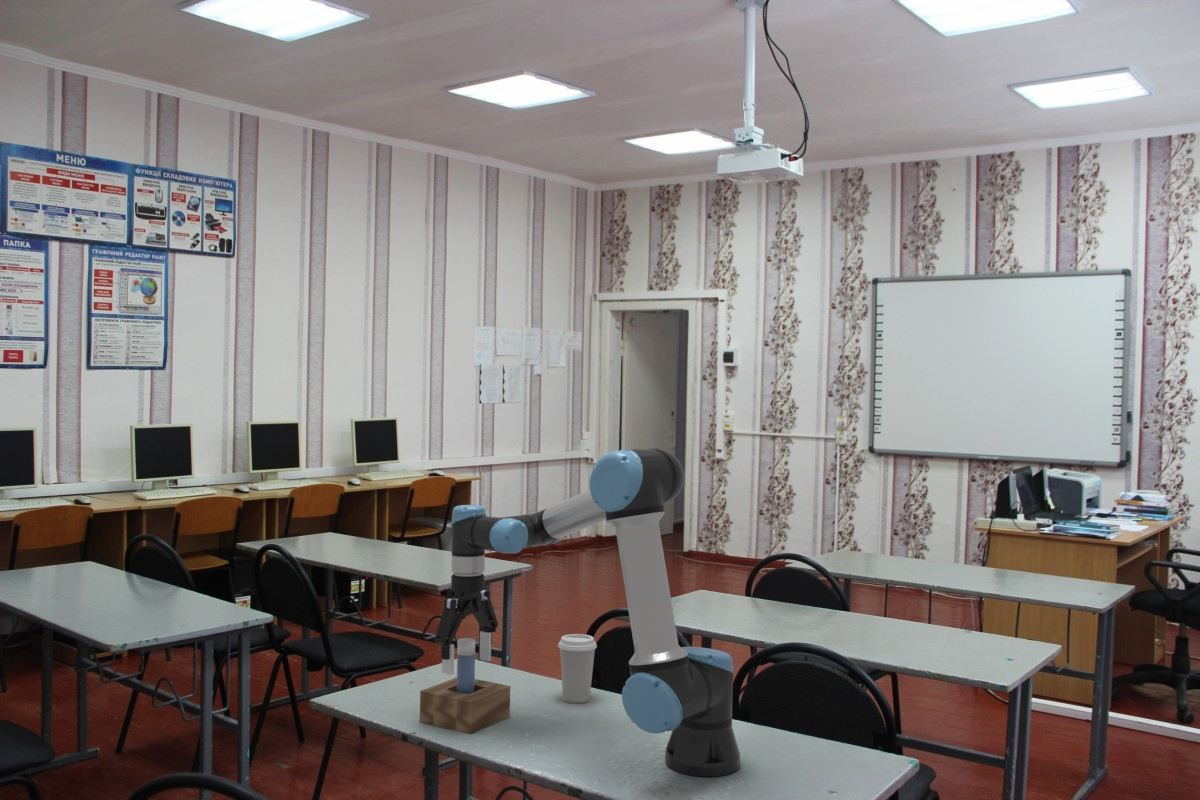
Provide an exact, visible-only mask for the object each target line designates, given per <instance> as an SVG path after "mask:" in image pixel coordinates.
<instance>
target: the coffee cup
mask: <svg viewBox="0 0 1200 800" xmlns="http://www.w3.org/2000/svg"><path fill="white" fill-rule="evenodd" d="M557 648H558V649H559V655H560V656H559V657H560V670H561V687H562V688H561V689H562V700H563V701H564V702H565V703H571V704H582V703H587V702H589V701H590V697H591V689H592V679H593V671H594V670H593V669H594V659H595V651H596V649H597V648H598V645H597V643H596V641H595V639H594V637H593V636H592V635H589V634H583V633H573V634H564V635H563V636H561V637H560V641H558V644H557Z"/></svg>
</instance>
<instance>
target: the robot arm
mask: <svg viewBox="0 0 1200 800" xmlns="http://www.w3.org/2000/svg"><path fill="white" fill-rule="evenodd" d="M684 480H685V473H684V469H683V466H682V464H681V462H680V461H679V459H678V458H677V457H676V456H675V455H674V454H673V453H671V452H669V451H667V450H666V449H662V448H661V449H660V448H642V449H641V448H640V449H637V448H635V449H629V448H628V449H627V448H626V449H620V450H614V451H610V452H608V453H606V454H604V455H602V456H601V457H600V458H599V459H598V460H597V461H596V464H595V465H594V467H593V468H592V469H591V473H590V477H589V483H588V485H589V489H587V490H586V491H583V492H581V493H579V494H577V495H574V496H571V497H570V498H567V499H565V500H562V501H560V502H558V503H555V504H553V505H551V506H548V507H547V508H545V509H542V510H540V511H537V512H534V513H529V514H519V515H510V516H503V517H501V516H500V517H497V516H487V514H486V508H485V507H484V506H483V505H477V504H461V505H456V506H454V507H453V509H452V513H451V523H450V526H451V572H452V573H453V574H452V575H450V576H451V577H450V581H451V584H450V587H451V588H450V589H451V591H452V592H453V593H454V595H453V598H447V597H446V598H445V599H444V600H443V601H444V603H443V610H442V614H441V616H440V621H439V624H438V626H437V630H436V633H435V636H434V643H437V644H439V645H440V646H441V649H440V653H441V654H440V656H441V660H442V661H441V673H442V674H445V675H446V674H447V675H454V674H455V671H454V670H455V644H454V643H453V640H455V636H456V634H457V632H458V630H459V628H460V626H461V623H462V622H463V620H465V619H466V617H468V616H470V615H473V617H474V618H475V620H476V621H477V623H478V625H479V627H480V628H481V629H482V631H479V660H480V661H485V662H491V660H492V641H493V636H492V635H493V633H496V632H497V628H498V626H499V621H498V619H497V616H496V614H495V611H494V610H495V609H494V607H493V604H492V601H491V591H490V590H485V574H484V572H485V571H486V565H485V563H486V556H485V555H486V551H490V552H496V553H501V554H519V553H520V552H521V551H522V550H523V549H528V548H533V547H539V546H544V547H546V546H550V545H553V544H557V543H559V542H560V541H561V540H562V539H563V537H566V536H569V535H572V534H573V533H577V532H580V531H581V530H585V529H587V528H589V527H591V526H594V525H597V524H600V523H602V522H605V521H606V523H607V524H609V525H610V526H611V527H612V528H614V530H615V533H616V540H617V545H618V553H619V559H620V564H621V571H622V577H623V583H624V588H625V596H626V604H627V609H628V617H629V622H630V629H631V634H632V641H633V647H634V648H633V649H634V653H633V655H632V656H631V658H630V660H629V661H628V666H629V673H630V676H629V677H628V678H627V680H626V681H625V683H624V684H625V685H623V688H622V691H621V700H622V705H623V708H624V711H625V713H626V715H627V716H628V718H629V719H630V721H631V722H632V723H633V724H635V725H636V726H637V727H638V728H639V729H640V730H641V731H643V732H646V733H649V734H654V735H655V734H662V733H665V732H671V733H670V736H669V739H668V742H667V745H666V748H665V753H664V754H665V758H664V759H665V760H664V761H665V764H666V766H667V767H669V769H671V770H673V771H675V772H678V773H681V774H684V775H689V776H694V777H721V776H727V775H730V774H732V773H735V772H737V771H738V770H739V769H740V766H741V753H740V750H739V749H740V748H739V746H738V742H737V739H736V736H735V733H734V729H733V699H734V695H733V693H734V692H733V691H734V675H735V671H734V663H733V658H732V656H731V654H729V653H728V652H725V651H722V650H718V649H715V648H709V647H708V648H707V647H698V646H681V645H679V639H678V635H677V628H676V621H675V614H674V609H673V603H672V602H673V601H672V597H671V591H670V590H671V589H670V585H669V578H668V572H667V566H666V561H665V553H664V548H663V547H664V546H663V542H662V536H661V530H660V529H661V528H660V521H661V519H662V518H663V516H664V515H665V508H664V506H665V504H668V503H670V502H671V501H673V500H674V499H676V498H677V497H678V496H679V494H680V493H681V491H682V489H683V485H684V482H685V481H684ZM452 643H453V644H452Z"/></svg>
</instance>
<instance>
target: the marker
mask: <svg viewBox="0 0 1200 800" xmlns="http://www.w3.org/2000/svg"><path fill="white" fill-rule="evenodd" d="M456 655H457V656H456V660H457V661H456V663H457V664H456V678H457V692H459V693H464V694H470V693H473V692H474V685H475V679H476V677H475V676H476V672H475V671H476V639H474V638H471V637H469V638H468V637H465V638H459V639H457V653H456Z"/></svg>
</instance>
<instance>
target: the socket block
mask: <svg viewBox="0 0 1200 800" xmlns="http://www.w3.org/2000/svg"><path fill="white" fill-rule="evenodd" d="M419 692H420V693H419V694H420V695H419V723H423V724H425V725H426V724H427V725H431V726H435V727H439V728H444V729H448V730H452V731H456V732H461V733H465V734H468V735H472V734H474V733H477V732H479V731H481V730H483V729H485V728H487V727H489V726H492V725H494V724H496V723H498V722H501V721H502V720H505V719H507V718H509V717H511V685H507V684H502V683H497V682H492V681H487V680H482V679H477V678H475V685H474V692H473V693H470V694H464V693H459V692H457V677H454V678H452V679H449V680H446V681H444V682H441V683H438V684H435V685H433V686H430V687H427V688H423V689H422V690H420V691H419Z"/></svg>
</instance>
